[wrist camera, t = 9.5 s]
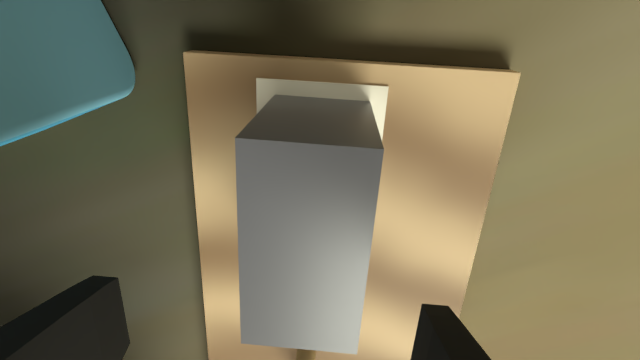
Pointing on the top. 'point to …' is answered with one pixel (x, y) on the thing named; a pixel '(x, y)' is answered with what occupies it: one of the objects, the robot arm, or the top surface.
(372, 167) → the block
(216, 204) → the board
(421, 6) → the top surface
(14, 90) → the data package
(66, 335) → the robot arm
